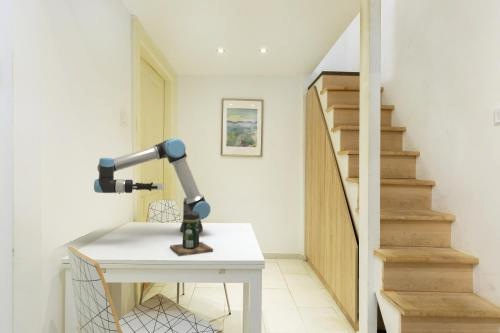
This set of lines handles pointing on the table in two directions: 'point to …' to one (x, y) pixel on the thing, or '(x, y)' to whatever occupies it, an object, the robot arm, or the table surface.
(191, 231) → the coffee jar
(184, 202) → the robot arm
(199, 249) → the walnut board
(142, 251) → the table surface
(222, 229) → the table surface
